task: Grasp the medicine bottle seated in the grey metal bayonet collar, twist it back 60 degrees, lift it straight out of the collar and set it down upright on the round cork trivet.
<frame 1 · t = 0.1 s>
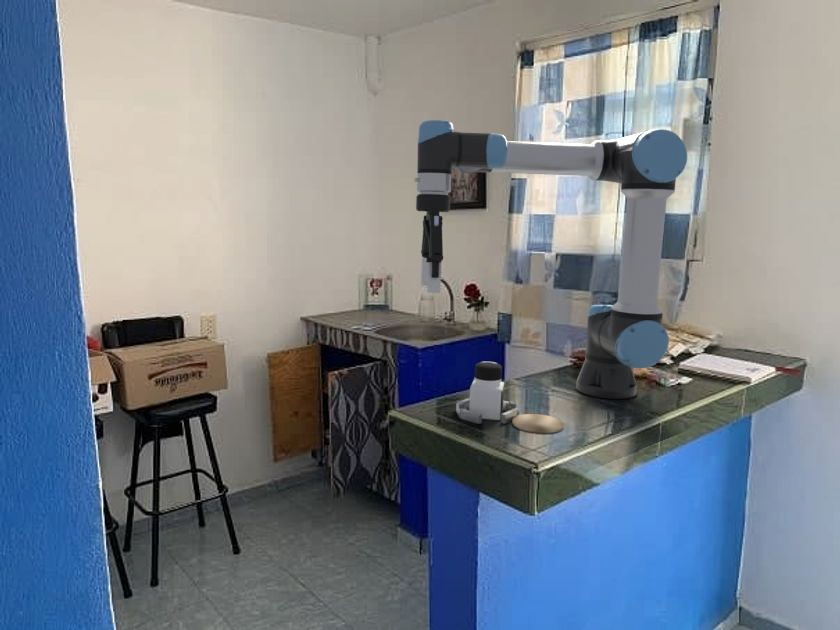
hand: (430, 289, 141), 28 cm above the table, fingers open, 13 cm apart
trivet: (537, 424, 136), on the table
collar: (486, 414, 142), on the table
medicine bottle: (486, 415, 142), resting in collar
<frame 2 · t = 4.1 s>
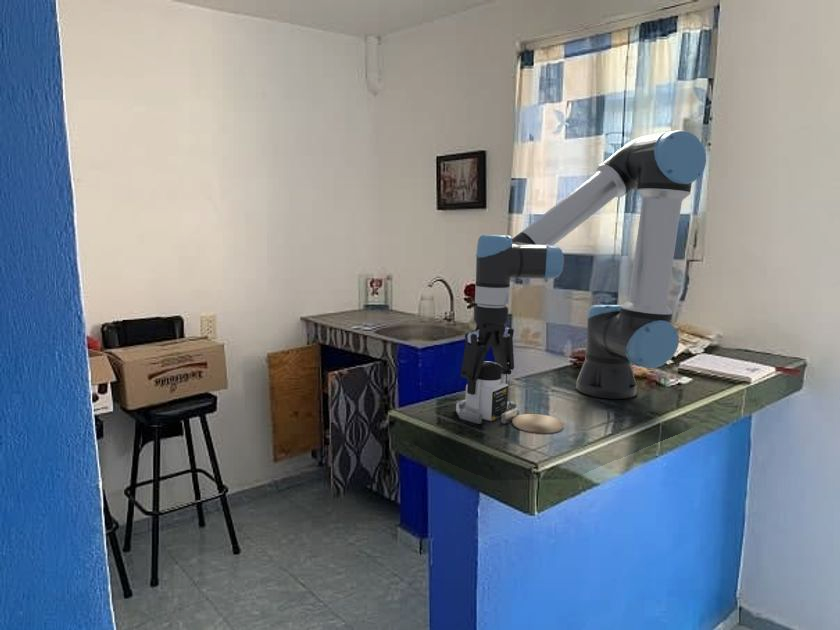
hand: (486, 404, 141), 2 cm above the table, fingers closed on medicine bottle, 8 cm apart
medicine bottle: (485, 415, 142), resting in collar, touching gripper
when the fingers open (5 cm above the table, at t = 10.9 s): medicine bottle drops 2 cm, resting on trivet.
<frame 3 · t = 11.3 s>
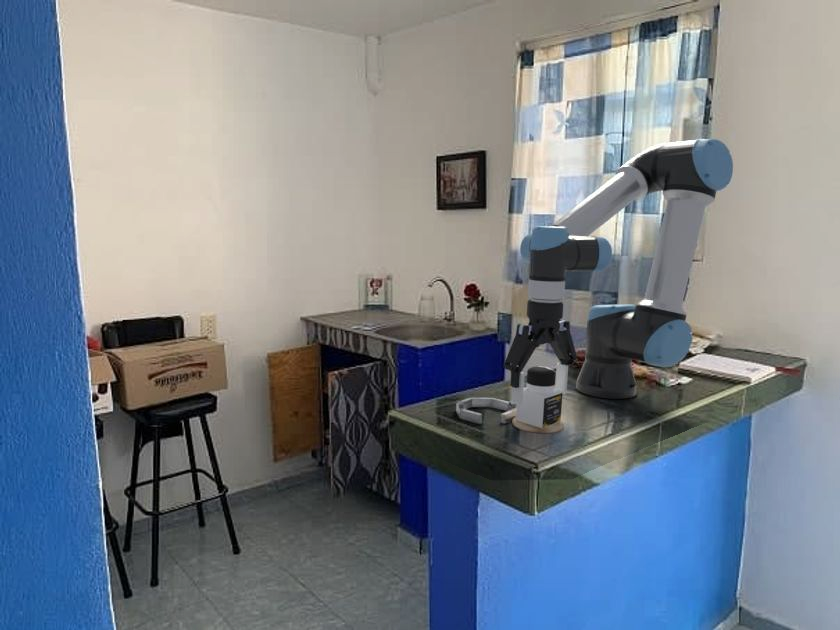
hand: (539, 397, 135), 6 cm above the table, fingers open, 13 cm apart
medicine bottle: (538, 422, 136), resting on trivet
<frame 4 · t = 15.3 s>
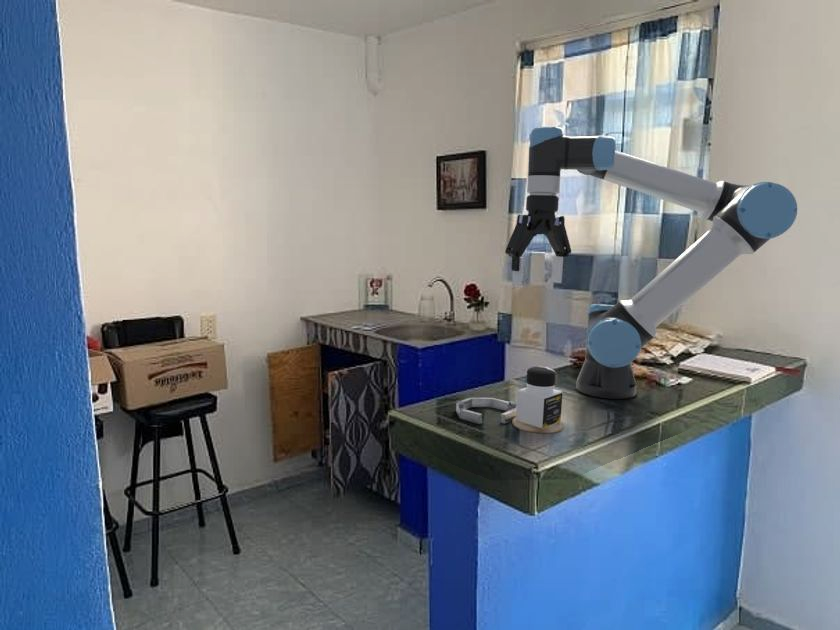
hand: (537, 283, 151), 29 cm above the table, fingers open, 13 cm apart
nothing on the table moved.
at the end: medicine bottle 0.1 cm from the trivet (horizontally); medicine bottle tilted 0°; the gripper is holding nothing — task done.
